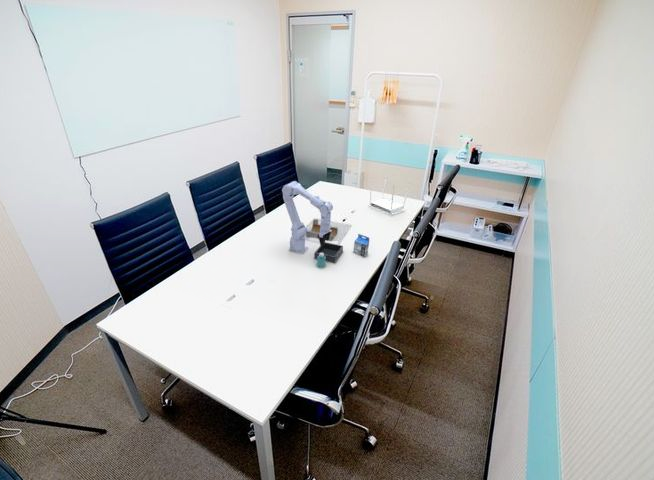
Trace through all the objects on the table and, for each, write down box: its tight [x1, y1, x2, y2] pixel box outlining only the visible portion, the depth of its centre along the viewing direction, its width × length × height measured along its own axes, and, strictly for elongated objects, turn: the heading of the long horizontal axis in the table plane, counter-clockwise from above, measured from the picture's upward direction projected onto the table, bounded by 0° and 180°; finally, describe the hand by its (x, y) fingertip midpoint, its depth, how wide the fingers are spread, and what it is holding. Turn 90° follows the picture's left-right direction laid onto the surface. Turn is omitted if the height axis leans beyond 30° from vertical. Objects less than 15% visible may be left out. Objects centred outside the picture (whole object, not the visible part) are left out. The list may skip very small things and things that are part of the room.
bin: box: [313, 241, 344, 264], centre depth 211 cm, size 14×16×4 cm
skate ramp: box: [305, 217, 351, 242], centre depth 239 cm, size 29×35×8 cm
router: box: [368, 174, 411, 217], centre depth 271 cm, size 19×25×24 cm
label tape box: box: [352, 233, 370, 258], centre depth 211 cm, size 9×4×12 cm, turn 47°
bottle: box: [316, 253, 327, 269], centre depth 199 cm, size 5×5×9 cm
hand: (324, 242), depth 204 cm, fingers open, 7 cm apart
